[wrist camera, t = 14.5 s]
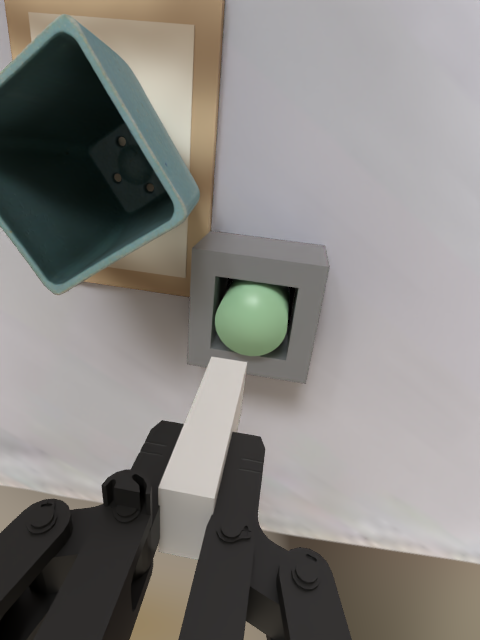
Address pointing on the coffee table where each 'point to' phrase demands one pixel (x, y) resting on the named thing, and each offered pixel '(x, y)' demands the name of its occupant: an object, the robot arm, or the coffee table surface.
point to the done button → (253, 317)
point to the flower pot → (83, 158)
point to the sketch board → (154, 106)
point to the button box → (265, 267)
